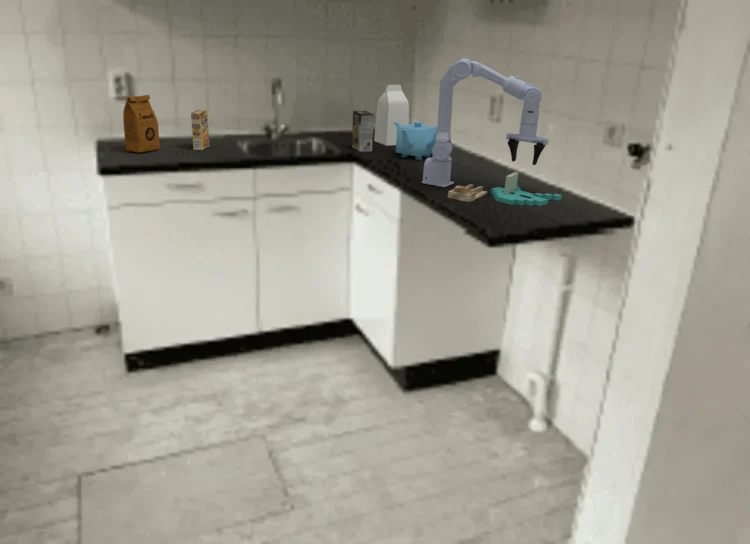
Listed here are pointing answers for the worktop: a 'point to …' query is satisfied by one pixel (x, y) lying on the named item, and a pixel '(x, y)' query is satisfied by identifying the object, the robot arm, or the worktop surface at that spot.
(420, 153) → the teakettle
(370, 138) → the coffee box
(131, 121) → the coffee package
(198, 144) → the candy box
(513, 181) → the panel
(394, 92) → the milk
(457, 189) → the offcut
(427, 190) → the worktop surface
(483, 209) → the worktop surface
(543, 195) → the alien figure
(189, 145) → the worktop surface
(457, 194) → the rack
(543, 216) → the worktop surface
